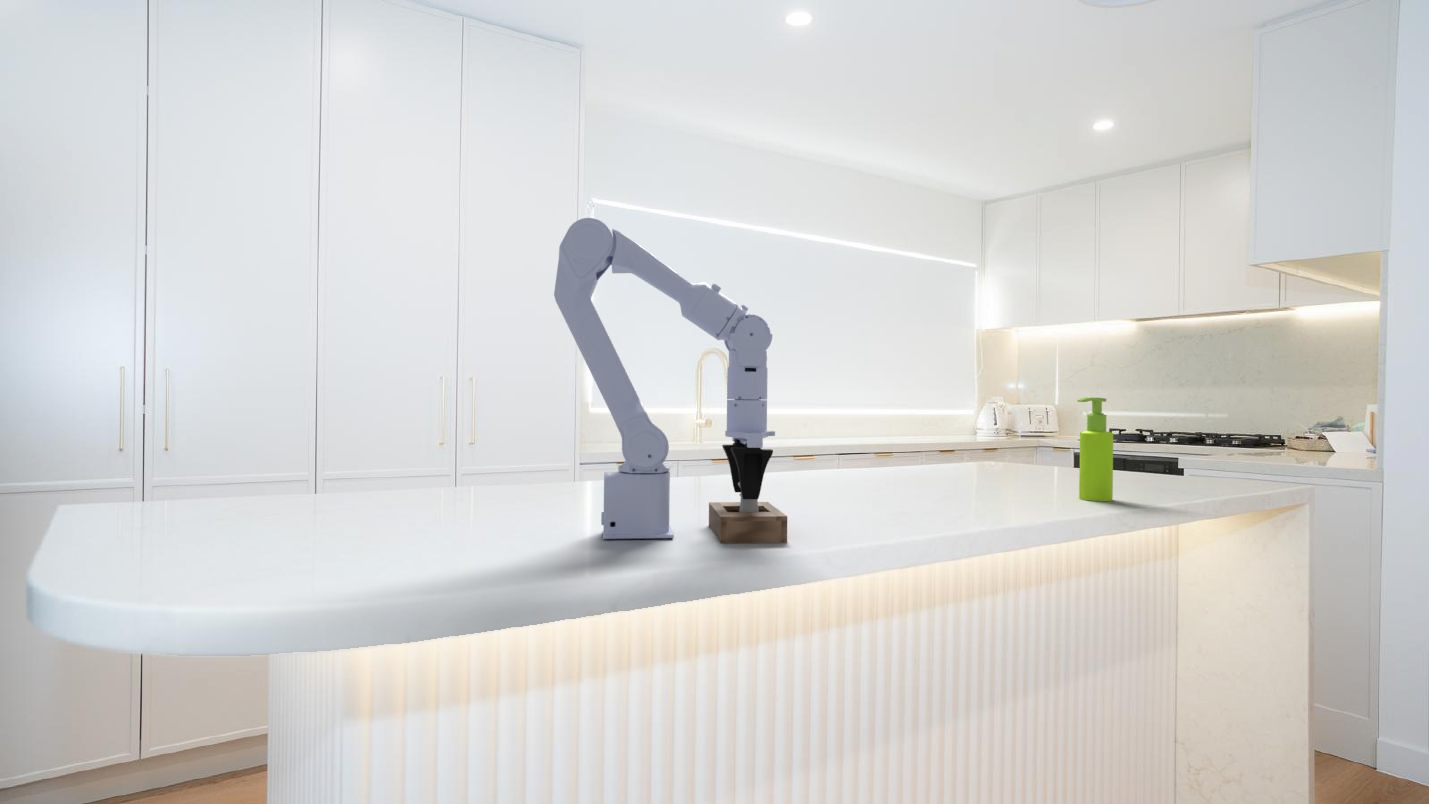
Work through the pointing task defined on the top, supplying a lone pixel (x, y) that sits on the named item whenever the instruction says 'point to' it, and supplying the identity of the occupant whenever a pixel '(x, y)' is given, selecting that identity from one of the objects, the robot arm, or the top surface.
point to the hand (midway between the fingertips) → (746, 495)
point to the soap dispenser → (1096, 456)
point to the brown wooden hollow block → (747, 523)
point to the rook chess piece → (748, 504)
